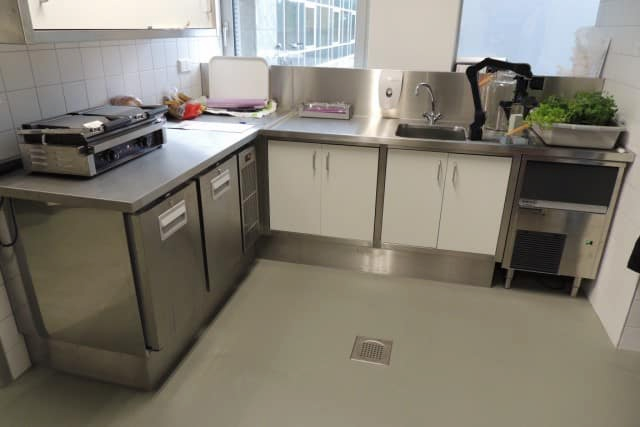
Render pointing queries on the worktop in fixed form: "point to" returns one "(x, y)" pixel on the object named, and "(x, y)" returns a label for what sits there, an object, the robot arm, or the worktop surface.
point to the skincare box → (516, 123)
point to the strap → (517, 129)
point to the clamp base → (514, 141)
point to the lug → (530, 139)
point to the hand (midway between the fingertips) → (515, 120)
